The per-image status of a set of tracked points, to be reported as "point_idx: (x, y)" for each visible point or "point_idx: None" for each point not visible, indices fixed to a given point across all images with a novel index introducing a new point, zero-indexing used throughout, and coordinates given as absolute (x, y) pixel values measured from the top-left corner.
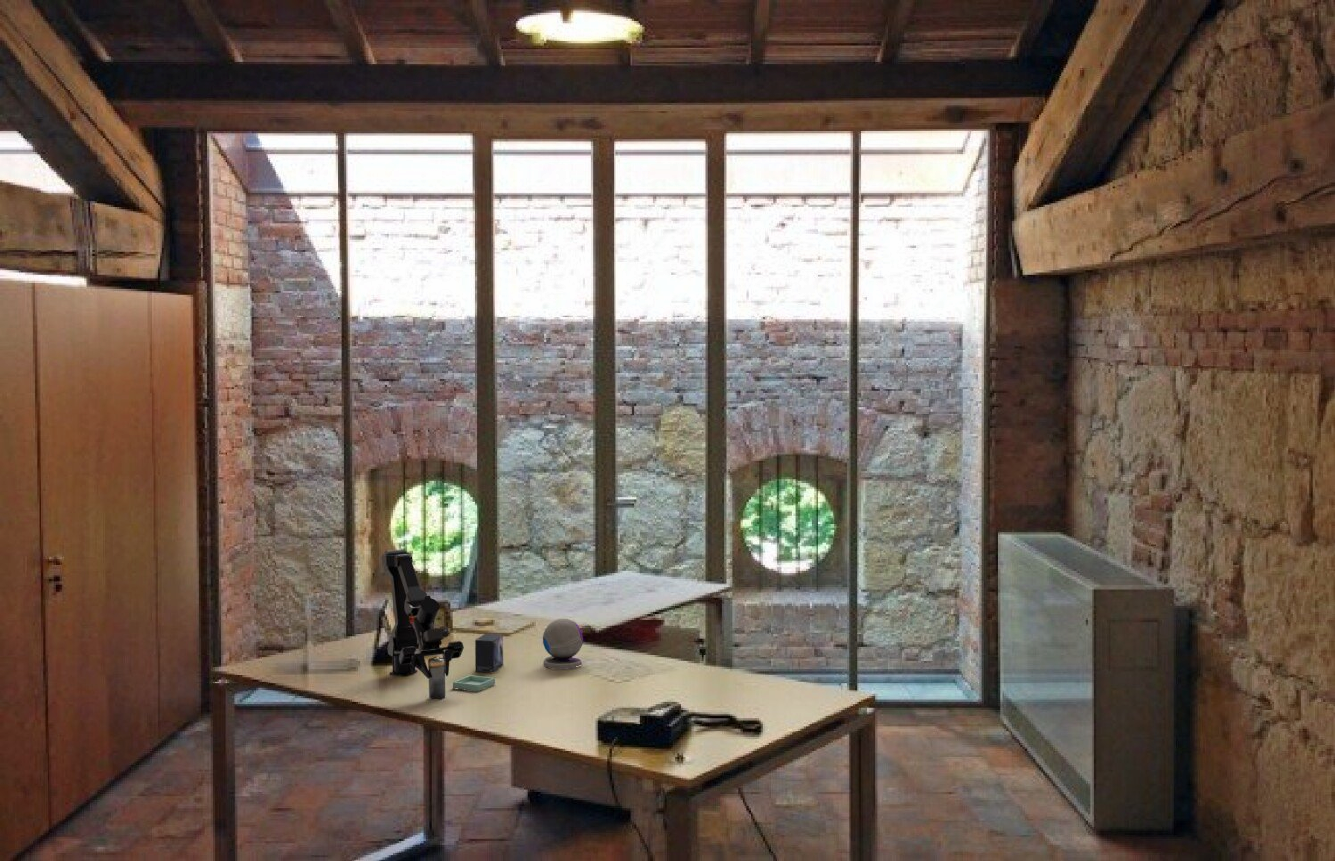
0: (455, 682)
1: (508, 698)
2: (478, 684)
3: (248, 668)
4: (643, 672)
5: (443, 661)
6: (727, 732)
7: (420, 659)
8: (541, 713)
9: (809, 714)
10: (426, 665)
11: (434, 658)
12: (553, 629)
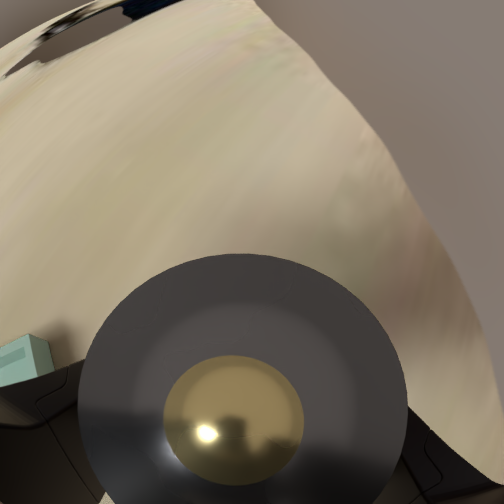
0: None
1: (58, 185)
2: (21, 343)
3: None
4: None
5: (168, 277)
6: (92, 7)
7: (496, 493)
8: (133, 61)
9: (21, 37)
10: None
11: (297, 401)
12: None
